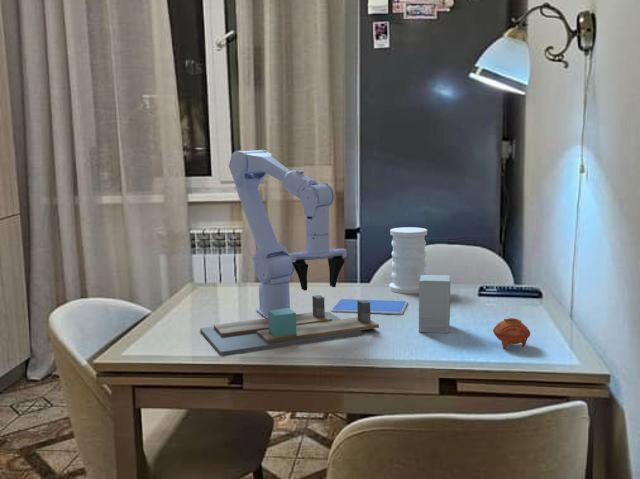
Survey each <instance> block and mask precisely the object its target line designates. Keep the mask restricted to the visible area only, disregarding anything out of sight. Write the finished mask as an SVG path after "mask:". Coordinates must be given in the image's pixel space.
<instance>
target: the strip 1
mask: <svg viewBox="0 0 640 479" xmlns="http://www.w3.org/2000/svg"><path fill="white" fill-rule="evenodd" d="M325 312H326V311H325V297H324V296H322V295H321V294H316V295H312V312H305V313H296V326H297V325H305V324H312V323H319V322H327V321H332V318H330V317H328V316H327V315H325ZM213 327H214V329H215V330H216V331H217V332H218V333H219V334H220V335H221V336H222V337H226V336H233V335H240V334H248V333H255V332H257V331H260V330H267V329H269V318H265V317H264V318H259V319H258V318H257V319H252V320H251V319H250V320H243V321H241V320H240V321H236V322H235V321H234V322H226V323H219V324H213Z"/></svg>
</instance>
